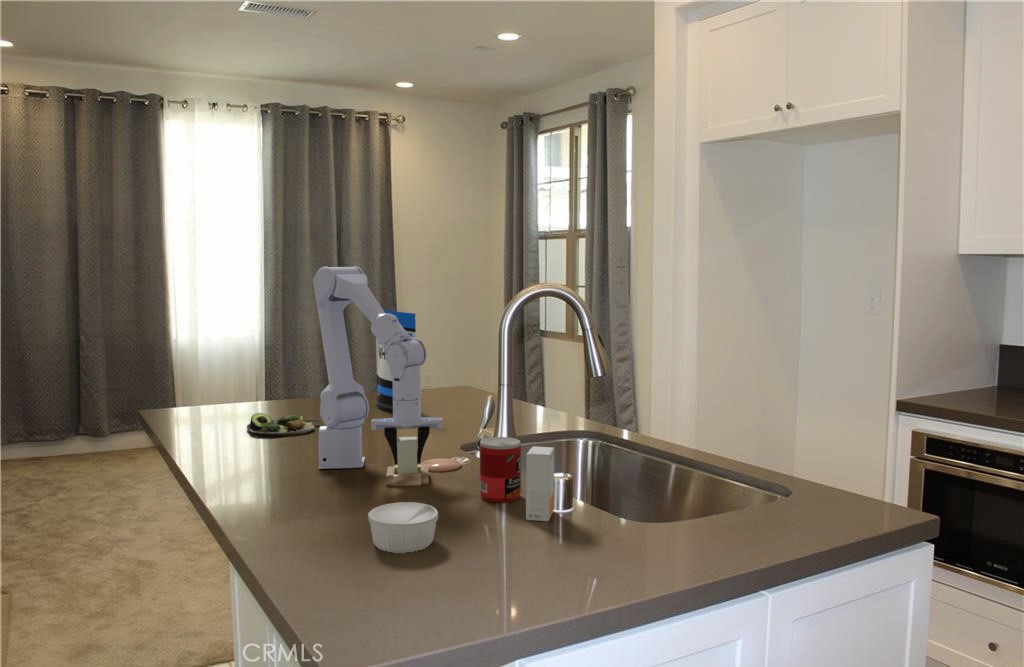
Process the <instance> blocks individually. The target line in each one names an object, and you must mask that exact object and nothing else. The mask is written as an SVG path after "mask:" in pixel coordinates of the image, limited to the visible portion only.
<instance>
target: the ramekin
mask: <svg viewBox="0 0 1024 667" xmlns="http://www.w3.org/2000/svg"><path fill="white" fill-rule="evenodd" d="M367 520H368V523H369V525H370V531H371V532H370V533H371V537H372V542H373V544H374V546H376V548H377V549H378V550H380V551H382V550H383V551H382V552H385V551H387V552H386V553H389V552H393V553H392V554H407V553H406V552H411V553H415V552H414V551H416V552H419V551H418V550H420V551H423V550H425V549H427V548H428V547H430V545H431V544H432V543H433V541H434V537H435V532H436V526H437V521H438V520H439V512H438V510H437V508H436V507H434V506H432V505H430V504H426V503H423V502H422V503H421V502H417V501H416V502H413V501H412V502H411V501H408V502H407V501H406V502H403V501H400V502H392V503H386V504H382V505H379V506H376V507H374V508H372V509H371V510H370V511H369V512H368V513H367ZM426 547H427V548H426ZM422 549H423V550H422Z"/></svg>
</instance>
